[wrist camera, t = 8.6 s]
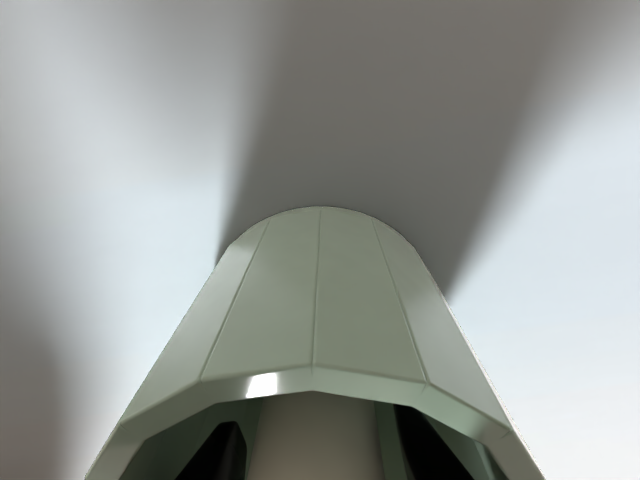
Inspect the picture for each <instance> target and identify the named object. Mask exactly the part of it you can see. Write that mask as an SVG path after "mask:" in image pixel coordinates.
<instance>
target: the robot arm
mask: <svg viewBox="0 0 640 480" xmlns="http://www.w3.org/2000/svg"><path fill="white" fill-rule="evenodd" d="M393 409H394V415H395V421H396V427H397V433H398V438H399V443H400V448H401V453H402V458H403V463H404V468H405V473H406V478H407V480H475V479H474V478H473V477H472V476H471V474H470V473H469V472H468V470H467V469H466V468H465V467H464V465H463V464H462V463H461V462H460V460H459V459H458V458H457V456H456V455H455V454H454V453H453V451H452V450H451V449H450V448H449V446H448V445H447V444H446V443H445V441H444V440H443V439H442V437H441V436H440V435H439V434H438V432H437V431H436V430H435V429H434V427H433V426H432V425H431V424H430V422H429V421H428V420H427V418H426V417H425V416H424V415H423V413H422V412H421V411H419V410H417V409H415V408H413V407H411V406H405V405H399V404H393ZM246 460H247V445H246V441H245V439H244V436H243V434H242V432H241V429H240V427H239V424H238V423H237V422H236V421H227V422H221V423H219V424H218V425H217V426H216V428H215V429H214V430H213V431H212V433H211V434H210V435H209V436H208V438H207V439H206V440H205V442H204V443H203V444H202V445H201V447H200V448H199V449H198V450H197V452H196V453H195V454H194V455H193V457H192V458H191V459H190V461H189V462H188V463H187V464H186V466H185V467H184V468H183V469H182V471H181V472H180V473H179V475H178V476H177V477H176V478H175V480H245V471H246Z"/></svg>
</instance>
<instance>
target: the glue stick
mask: <svg viewBox="0 0 640 480" xmlns="http://www.w3.org/2000/svg"><path fill="white" fill-rule="evenodd" d="M247 480H385V475H384V468H383V461H382V455H381V448H380V441H379V434H378V427H377V421H376V414H375V407H374V400H368V399H362V398H356V397H350V396H343V395H337V394H331V393H325V392H319V391H305V392H297V393H290V394H283V395H275V396H268V397H264V398H263V403H262V408H261V412H260V417H259V422H258V427H257V432H256V437H255V441H254V446H253V451H252V456H251V461H250V466H249V470H248V475H247Z"/></svg>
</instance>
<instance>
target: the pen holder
mask: <svg viewBox="0 0 640 480" xmlns="http://www.w3.org/2000/svg"><path fill="white" fill-rule="evenodd" d="M305 391H319V392H325V393H331V394H337V395H343V396H350V397H356V398H362V399H368V400H374V407H375V414H376V421H377V427H378V434H379V441H380V448H381V455H382V461H383V468H384V475H385V480H407V478H406V473H405V468H404V463H403V458H402V453H401V448H400V443H399V438H398V433H397V427H396V421H395V415H394V409H393V404H399V405H405V406H411V407H413V408H415V409H417V410H419V411H421V412H422V413H423V415H424V416H425V417H426V418H427V420H428V421H429V422H430V424H431V425H432V426H433V427H434V429H435V430H436V431H437V432H438V434H439V435H440V436H441V437H442V439H443V440H444V441H445V443H446V444H447V445H448V446H449V448H450V449H451V450H452V451H453V453H454V454H455V455H456V456H457V458H458V459H459V460H460V462H461V463H462V464H463V465H464V467H465V468H466V469H467V470H468V472H469V473H470V474H471V476H472V477H473V478H474V479H475V480H546V478H545V476H544V474H543V472H542V471H541V469H540V467H539V465H538V464H537V462H536V460H535V458H534V456H533V455H532V453H531V451H530V449H529V448H528V446H527V444H526V442H525V440H524V439H523V437H522V435H521V433H520V431H519V430H518V428H517V426H516V424H515V423H514V421H513V419H512V417H511V415H510V414H509V412H508V410H507V408H506V406H505V405H504V403H503V401H502V399H501V398H500V396H499V394H498V392H497V390H496V389H495V387H494V385H493V383H492V381H491V380H490V378H489V376H488V374H487V373H486V371H485V369H484V367H483V365H482V364H481V362H480V360H479V358H478V357H477V355H476V353H475V351H474V349H473V348H472V346H471V344H470V342H469V340H468V339H467V337H466V335H465V333H464V332H463V330H462V328H461V326H460V324H459V323H458V321H457V319H456V317H455V315H454V314H453V312H452V310H451V308H450V307H449V305H448V303H447V301H446V299H445V298H444V296H443V294H442V292H441V291H440V289H439V287H438V285H437V283H436V282H435V280H434V278H433V277H432V275H431V274H430V272H429V270H428V269H427V267H426V265H425V264H424V262H423V260H422V258H421V257H420V255H419V254H418V253H417V251H416V249H415V248H414V247H413V246H412V245H411V244H410V243H409V242H408V241H407V240H406V239H405V238H404V237H403V236H402V235H401V234H399V233H398V232H397V231H396V230H394V229H393V228H392V227H390V226H389V225H387V224H385V223H383V222H381V221H380V220H378V219H376V218H373V217H371V216H369V215H366V214H364V213H361V212H357V211H353V210H349V209H345V208H337V207H329V206H312V207H304V208H296V209H292V210H288V211H284V212H280V213H278V214H275V215H273V216H270V217H268V218H266V219H264V220H262V221H260V222H258V223H257V224H255V225H253V226H252V227H250V228H249V229H248V230H246V231H245V232H244V233H242V234H241V235H240V236H239V237H238V238H237V239H236V240H235V241H234V242H233V243H231V244H230V245H229V246H228V248H227V249H226V251H225V252H224V254H223V256H222V257H221V259H220V260H219V262H218V264H217V265H216V267H215V268H214V270H213V272H212V273H211V275H210V276H209V278H208V280H207V281H206V283H205V284H204V286H203V287H202V289H201V291H200V292H199V294H198V295H197V297H196V299H195V300H194V302H193V303H192V305H191V307H190V308H189V310H188V311H187V313H186V315H185V316H184V318H183V319H182V321H181V323H180V324H179V326H178V327H177V329H176V330H175V332H174V334H173V335H172V337H171V338H170V340H169V342H168V343H167V345H166V346H165V348H164V350H163V351H162V353H161V354H160V356H159V358H158V359H157V361H156V362H155V364H154V365H153V367H152V369H151V370H150V372H149V373H148V375H147V377H146V378H145V380H144V381H143V383H142V385H141V386H140V388H139V389H138V391H137V393H136V394H135V396H134V397H133V399H132V400H131V402H130V404H129V405H128V407H127V408H126V410H125V412H124V413H123V415H122V416H121V418H120V420H119V421H118V423H117V424H116V426H115V428H114V429H113V431H112V433H111V434H110V436H109V437H108V439H107V441H106V442H105V444H104V446H103V447H102V449H101V451H100V452H99V454H98V455H97V457H96V459H95V460H94V462H93V464H92V465H91V467H90V469H89V470H88V472H87V473H86V475H85V480H175V478H176V477H177V476H178V475H179V473H180V472H181V471H182V469H183V468H184V467H185V466H186V464H187V463H188V462H189V461H190V459H191V458H192V457H193V455H194V454H195V453H196V452H197V450H198V449H199V448H200V447H201V445H202V444H203V443H204V442H205V440H206V439H207V438H208V436H209V435H210V434H211V433H212V431H213V430H214V429H215V428H216V426H217V425H218V424H219V423H221V422H227V421H236V422H237V423H238V424H239V427H240V429H241V432H242V434H243V436H244V439H245V441H246V445H247V460H246V471H245V480H247V475H248V470H249V466H250V461H251V456H252V451H253V446H254V441H255V437H256V432H257V427H258V422H259V417H260V412H261V408H262V403H263V398H264V397H268V396H275V395H283V394H290V393H297V392H305Z"/></svg>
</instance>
